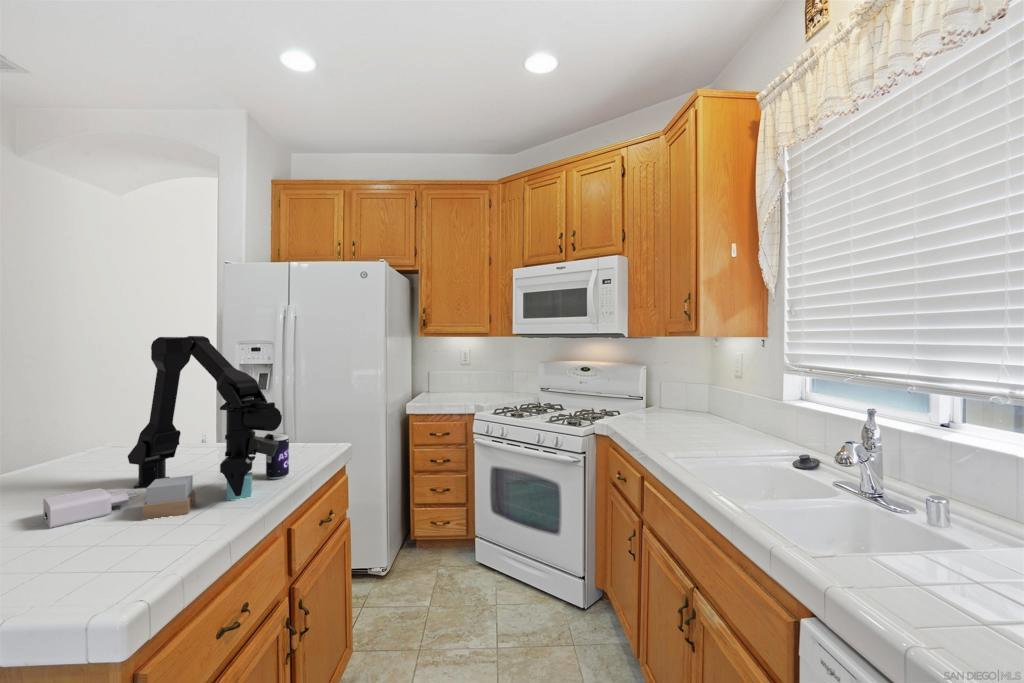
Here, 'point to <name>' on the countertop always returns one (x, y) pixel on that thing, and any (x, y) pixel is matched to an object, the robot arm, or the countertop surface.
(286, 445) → the beverage can
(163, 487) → the tower top
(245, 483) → the teal cube
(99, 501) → the charger
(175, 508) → the tower base
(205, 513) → the countertop surface
